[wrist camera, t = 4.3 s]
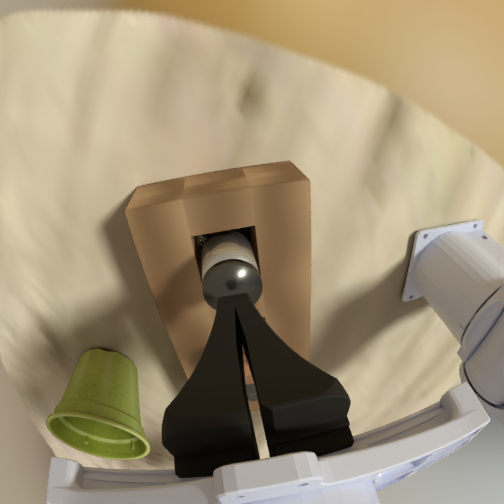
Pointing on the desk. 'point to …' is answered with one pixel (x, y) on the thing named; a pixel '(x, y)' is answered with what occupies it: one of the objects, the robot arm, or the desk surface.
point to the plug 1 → (229, 267)
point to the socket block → (221, 219)
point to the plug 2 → (251, 392)
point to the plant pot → (101, 408)
